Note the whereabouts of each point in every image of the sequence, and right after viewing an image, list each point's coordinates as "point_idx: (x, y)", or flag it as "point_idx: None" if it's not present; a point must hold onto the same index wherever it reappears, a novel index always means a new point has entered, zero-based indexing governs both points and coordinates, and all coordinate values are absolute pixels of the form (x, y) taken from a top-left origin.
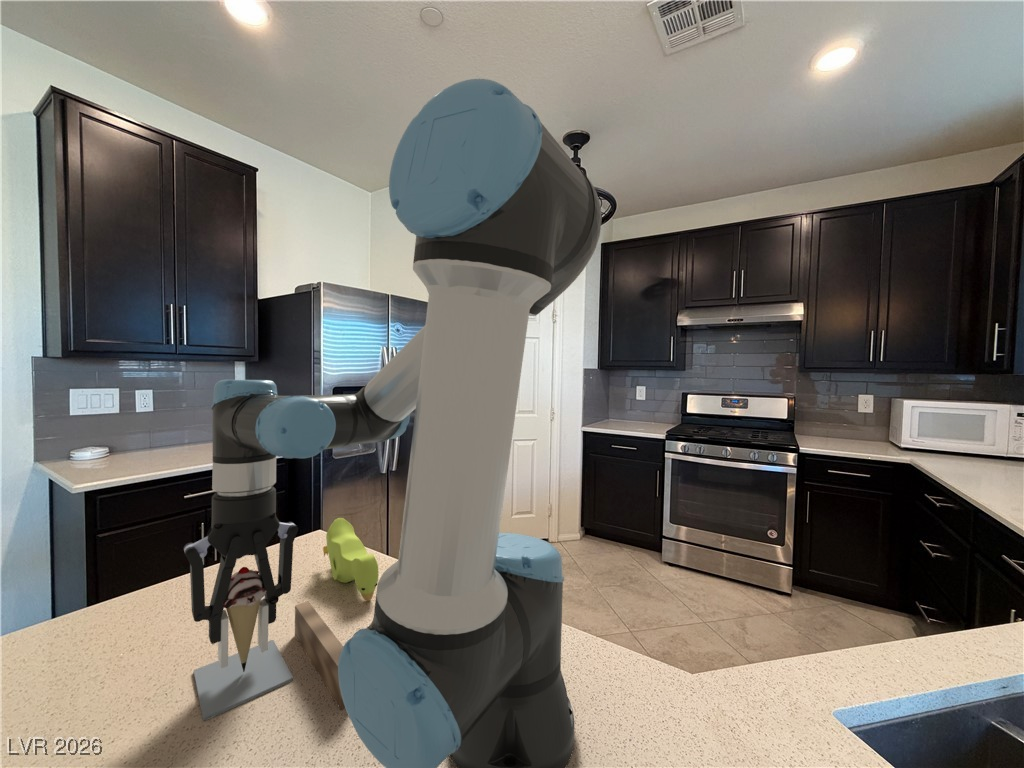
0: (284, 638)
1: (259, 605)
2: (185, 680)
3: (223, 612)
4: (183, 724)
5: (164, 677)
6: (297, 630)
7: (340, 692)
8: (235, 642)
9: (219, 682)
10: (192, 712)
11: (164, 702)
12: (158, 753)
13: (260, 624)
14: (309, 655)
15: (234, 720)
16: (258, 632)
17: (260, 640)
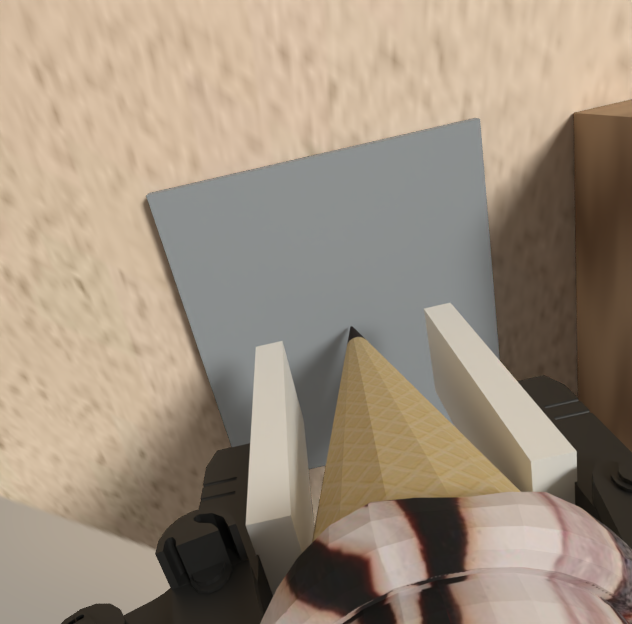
0: (526, 109)
1: (520, 484)
2: (129, 231)
3: (283, 546)
4: (189, 462)
5: (26, 160)
6: (603, 169)
7: None
8: (336, 405)
9: (267, 335)
10: (203, 425)
11: (92, 334)
12: (153, 534)
13: (474, 434)
14: (586, 340)
15: None
16: (445, 352)
17: (445, 388)
